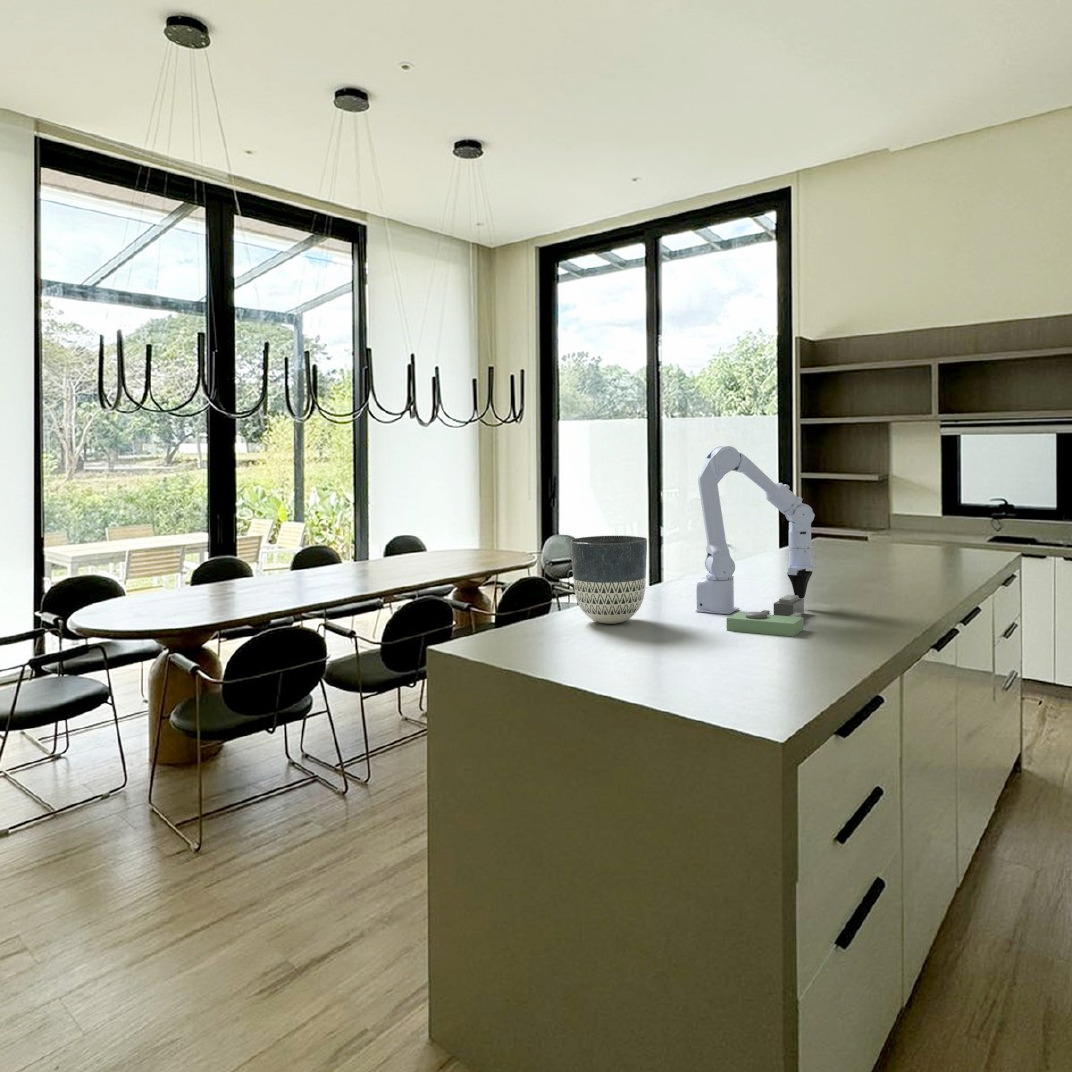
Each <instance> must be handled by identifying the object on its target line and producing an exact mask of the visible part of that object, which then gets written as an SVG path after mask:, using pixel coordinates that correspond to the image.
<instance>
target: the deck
mask: <svg viewBox="0 0 1072 1072" xmlns="http://www.w3.org/2000/svg"><path fill="white" fill-rule="evenodd" d="M726 631H732V632H741V633H742V632H743V633H752V634H762V635H763V634H764V635H775V636H783V637H795V636H796V635H798V634H800V633H801V632H802V631H804V617H802V615H801V613H794V614H792V615H791V616H779V615H774V614H771V611H770V610H769V609H767V610H766V609H763V610H762V611H749V612H739V611H738V612H735V613H734V614H732V615H730V616H728V617H727V618H726Z"/></svg>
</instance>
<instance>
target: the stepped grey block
mask: <svg viewBox="0 0 1072 1072" xmlns="http://www.w3.org/2000/svg"><path fill="white" fill-rule="evenodd" d="M794 613H801V616H802V615H804V614H805V598H803V599H800V598H799V596H798V595H793V594H786V595H785V596H783V597H780V598H779V599H778V600H777V601H775V602H774V603H773V615H779V616H791V615H792V614H794Z"/></svg>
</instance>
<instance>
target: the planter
mask: <svg viewBox="0 0 1072 1072" xmlns="http://www.w3.org/2000/svg"><path fill="white" fill-rule="evenodd" d="M569 543H570V554H571V567H572V578H573V589H574V594H575V599H576V602H577V604H578V607H579V609H580V610H581V611H582V612H583V613H584V614H585V616H587V618H589V619H590V620H592V621H594V622H596V623H599V624H607V625H614V624H621V623H623V622H624V623H625V622H626V621H629V620H630V619H631V618H632V617H634V615H635V614H636V613H637V612H638V611H639V610H640V608H641V607H642V604H643V602H644V597H645V593H646V580H647V559H648V558H647V557H648V556H647V554H648V553H647V552H648V538H647V537H644V536H637V535H636V536H635V535H594V536H585V537H577V538H573V539H571V540H570V542H569Z"/></svg>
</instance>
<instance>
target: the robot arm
mask: <svg viewBox="0 0 1072 1072" xmlns="http://www.w3.org/2000/svg"><path fill="white" fill-rule="evenodd" d="M730 472H737V473H742V474H744V475H745V476H746V477H747V478H749V480H751V481H752V482H753V483H755V484H756V485H757V486H758V487H760V488H761V489H762V490H763V491H764V492H765V497H766V498H765V499H766V500H767V502H769V503H770V504H771V505H773V506H774V507H775V508H776V509H777V510H778V511H779V512H780V513H782V514H783V515H784V516H785V518H786V520H787V521H788V563H787V569H788V571H787V574H786V575H787V577H788V579H789V581H790V582H791V586H792V589H793V594H794V595H798V596H799V599H805V597H806V592H807V588H808V586H809V585H808V583H809V582H810V578H811V577H812V575H813V571H812V570H807V569H813V568H817V567H816V563H815V564H814V563H812V523H813V521H814V520H815V519H814V518H815V516H816V515H815V513H814V511H813V508H812V507H811V505H809V504H806V503H803V498H802V497H801V496H800V497H799V496H797V495H796V494H794V492H793V491H791V490H790V485H788V484H784V483H782V482H777V483H776V482H773V480H772V479H771V478H770V477H769V476H768V475H766V474H765V472H763V470H761V469H760V468H759V467H758V466H757V465H756V464H755V463H754V462H753V461H752V460H751V459H750V458H749V457H747V456H746V455H745V454H744V453H742V452H739V451H738V450H737V448H735V447H733V446H731V445H730V446H729V445H726V446H717V447H715V448H713V449H712V450H711V451H710V452H709V453H708V454H707V455H706V457H705V459H704V462H703V465H702V467H701V470H700V472H699V475H698V477H697V484H698V491H699V496H700V504H701V509H702V510H701V511H702V517H703V523H704V525H703V526H704V530H705V537H706V544H707V545H706V558H705V561H704V566H705V569H706V570H707V574H706V575H705V577H700V578H698V580H697V582H696V583H697V584H696V609H695V612H698V613H711V614H723V615H724V614H725V615H730V614H732V613H734V612H736V611H738V610H740V607H736V606H735V598H734V597H735V596H734V595H735V593H734V591H735V590H734V588H735V586H734V584H735V582H734V581H735V578H734V573H735V571H736V563H735V561H734V560H733V558H732V557H731V554H730V549H729V547H728V543H727V541H726V532H725V526H724V519H723V512H722V506H721V499H720V498H721V497H720V491H719V487H718V484H719V483H720V481H721V480H722V479H723V478H724V477H725V475H727V474H728V473H730Z"/></svg>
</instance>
